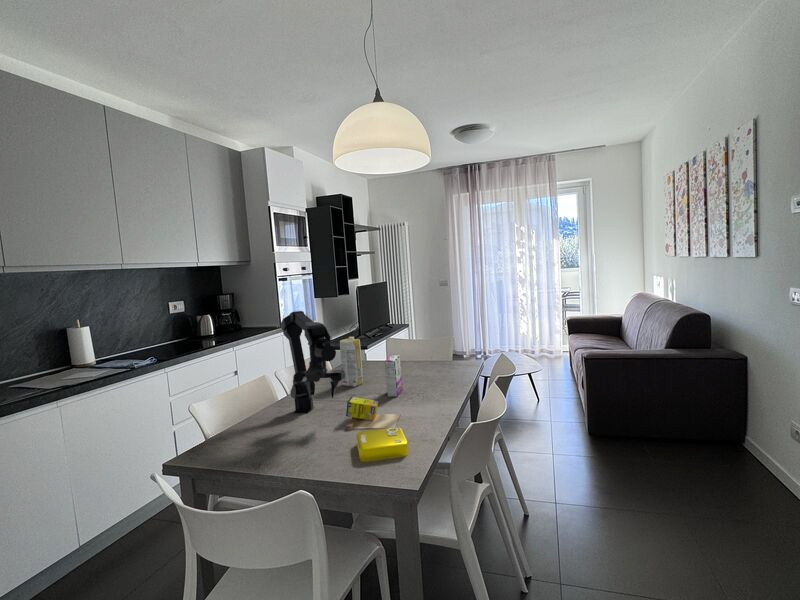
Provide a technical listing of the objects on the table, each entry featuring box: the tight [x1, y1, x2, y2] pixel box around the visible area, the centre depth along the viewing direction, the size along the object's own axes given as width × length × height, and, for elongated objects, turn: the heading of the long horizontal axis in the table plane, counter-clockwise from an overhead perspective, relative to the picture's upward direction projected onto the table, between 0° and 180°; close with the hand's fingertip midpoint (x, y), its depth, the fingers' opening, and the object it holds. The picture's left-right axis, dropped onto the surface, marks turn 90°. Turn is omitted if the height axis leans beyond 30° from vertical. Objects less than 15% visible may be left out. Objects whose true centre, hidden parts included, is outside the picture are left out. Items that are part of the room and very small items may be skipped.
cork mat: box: [352, 413, 401, 430], centre depth 162 cm, size 16×14×1 cm
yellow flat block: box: [356, 426, 409, 463], centre depth 137 cm, size 15×15×5 cm
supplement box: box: [345, 396, 379, 421], centre depth 165 cm, size 6×6×11 cm
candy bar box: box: [384, 354, 403, 398], centre depth 196 cm, size 11×5×16 cm, turn 168°
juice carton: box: [339, 336, 364, 387], centre depth 216 cm, size 9×8×24 cm
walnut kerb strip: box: [345, 417, 359, 431], centre depth 163 cm, size 2×16×2 cm, turn 171°
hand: (321, 397), depth 164 cm, fingers open, 9 cm apart
